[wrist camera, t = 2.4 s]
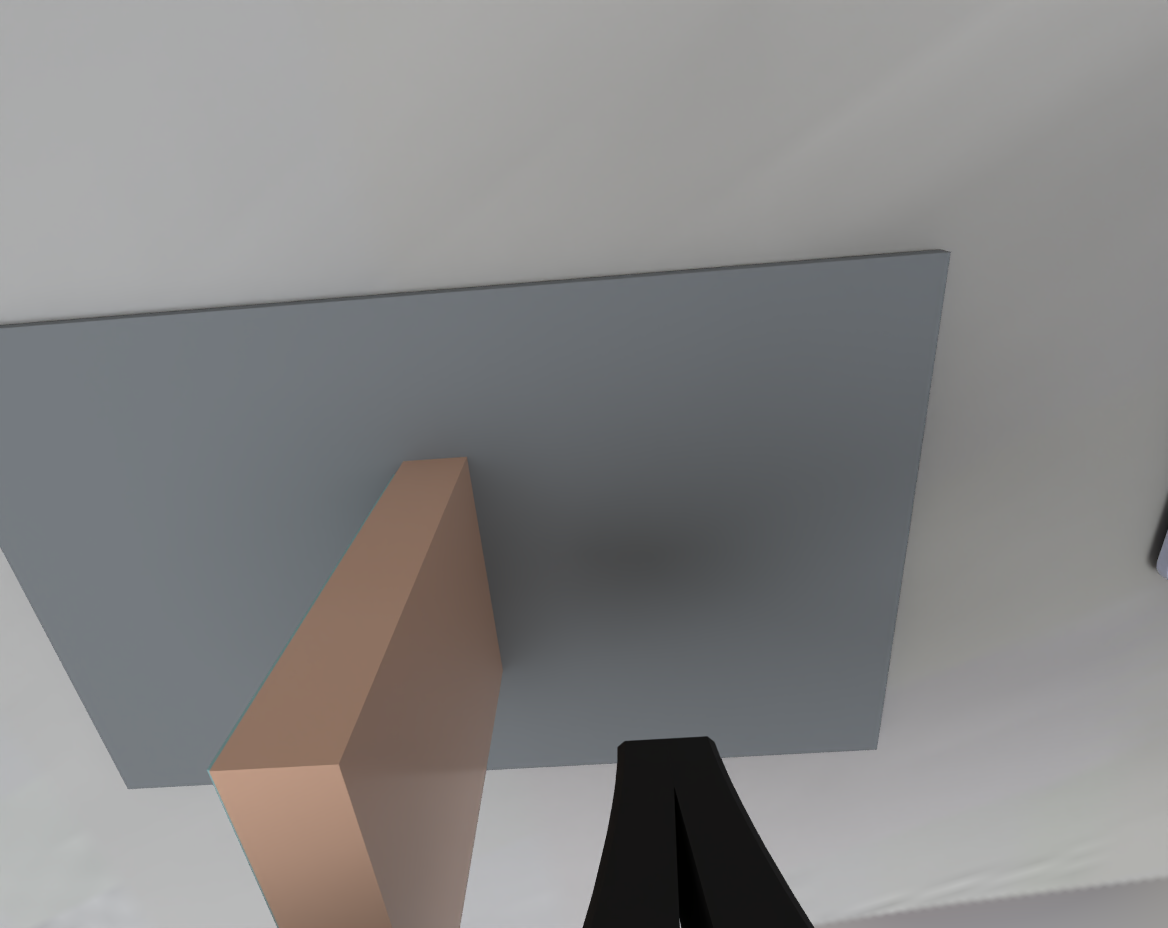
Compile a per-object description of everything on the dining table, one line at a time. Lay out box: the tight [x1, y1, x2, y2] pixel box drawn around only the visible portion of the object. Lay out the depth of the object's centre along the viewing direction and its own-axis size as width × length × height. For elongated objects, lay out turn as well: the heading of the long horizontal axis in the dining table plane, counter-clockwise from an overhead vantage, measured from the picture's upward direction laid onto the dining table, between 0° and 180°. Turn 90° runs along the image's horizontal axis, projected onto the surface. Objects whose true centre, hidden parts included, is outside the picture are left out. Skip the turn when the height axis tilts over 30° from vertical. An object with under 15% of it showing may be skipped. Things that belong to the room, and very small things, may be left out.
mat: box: [0, 250, 951, 789], centre depth 16 cm, size 21×13×1 cm, turn 95°
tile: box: [207, 457, 503, 928], centre depth 12 cm, size 2×6×8 cm, turn 4°
